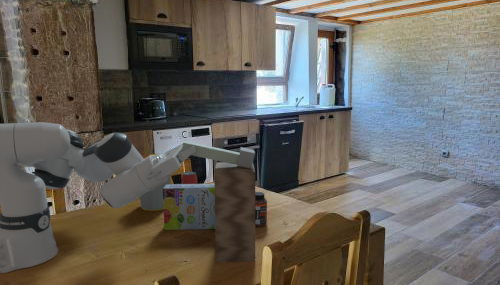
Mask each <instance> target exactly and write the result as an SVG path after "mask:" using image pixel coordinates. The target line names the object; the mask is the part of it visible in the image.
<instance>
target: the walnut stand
mask: <svg viewBox="0 0 500 285" xmlns="http://www.w3.org/2000/svg"><path fill="white" fill-rule="evenodd" d="M214 167H215V168H214V174H213V176H214V177H213V178H214V179H213V180H214V184H215V229H214V230H215V263H245V262H246V263H249V262H256V226H255V192H256V170H255V169H256V168H255V165H254V163H253V164H252V168H251V169H250V168H245V167H241V166H237V165H235V164H230V163H226V162H221V161H217V162H216V163H215V166H214Z"/></svg>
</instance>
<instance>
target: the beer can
mask: <svg viewBox="0 0 500 285" xmlns="http://www.w3.org/2000/svg"><path fill="white" fill-rule="evenodd" d="M181 175H182V176H181V178H180V179H181V180H180V181H181V184H198V177H197V173H196V171H193V170H188V171H184V172H182V174H181Z"/></svg>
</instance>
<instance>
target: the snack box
mask: <svg viewBox="0 0 500 285" xmlns="http://www.w3.org/2000/svg"><path fill="white" fill-rule="evenodd" d="M163 208H164V209H163V224H164V225H163V226H164V231H165V230H166V231H171V230H175V231H176V230H177V231H178V230H182V231H183V230H215V183H197V184H182V183H175V184H171V183H170V184H168V185H165V186H164V188H163Z"/></svg>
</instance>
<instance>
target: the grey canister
mask: <svg viewBox="0 0 500 285" xmlns="http://www.w3.org/2000/svg"><path fill="white" fill-rule="evenodd" d="M150 155H151V154H149V155H148V156H147V157H149V156H150ZM168 184H171V174H170V175H169V176H168V181H167V182H166V183H164V184H162V185H161V186H159V187H157V188H156V189H154V190H152V191H149V192H146V193H144V194H143V195H142V196H141V197H140V198H139V200H140V208H141V210H144V211H152V212H155V211H161V210H164V208H163V188H164V186H165V185H168Z"/></svg>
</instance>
